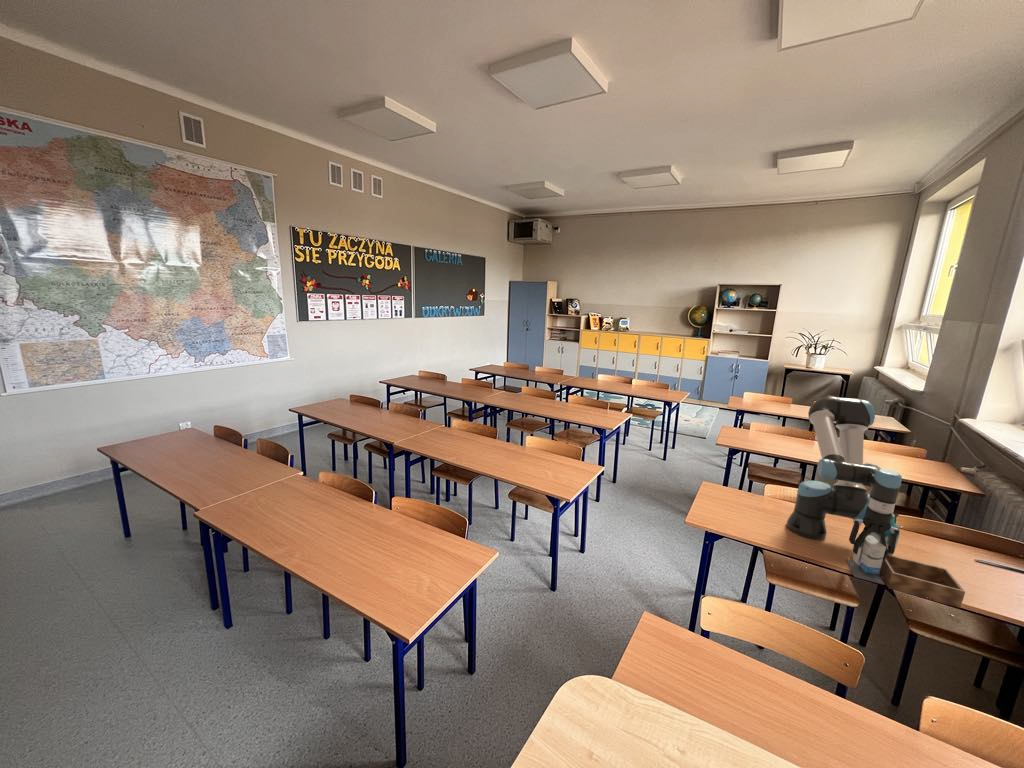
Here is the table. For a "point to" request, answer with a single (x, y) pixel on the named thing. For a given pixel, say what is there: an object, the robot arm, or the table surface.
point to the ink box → (871, 555)
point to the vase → (887, 534)
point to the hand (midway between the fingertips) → (866, 563)
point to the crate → (921, 580)
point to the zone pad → (863, 573)
